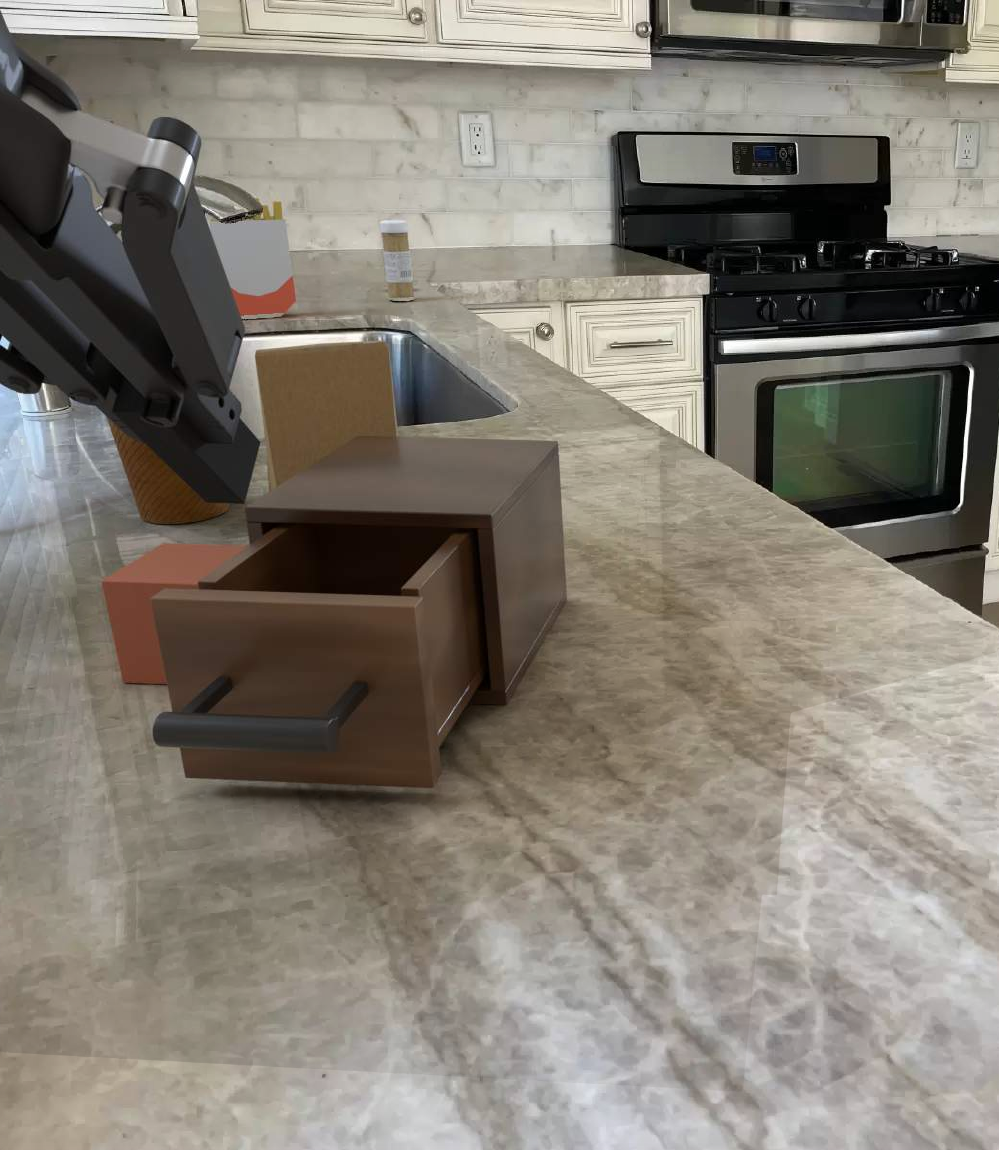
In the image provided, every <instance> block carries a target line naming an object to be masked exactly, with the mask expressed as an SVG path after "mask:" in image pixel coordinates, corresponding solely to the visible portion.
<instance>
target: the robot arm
mask: <svg viewBox="0 0 999 1150" xmlns="http://www.w3.org/2000/svg"><path fill="white" fill-rule="evenodd" d="M201 149H202V138H201V136H200V134H199V133H198V131H197V130H196V129H194V128H193V127H192V126H191V125H189V124H188V123H186V122H184V121H183V120H181V119H178V118H175V117H171V116H159V117H156V118H154V119H153V120H152V121H151V123H150V125H149V128H148V132H147V134H146V135H144V134H143V133H142V134H141V133H139V132H136V131H134V130H132V129H129V128H126V127H123V126H121V125H118V124H115V123H113V122H110V121H108V120H105V119H103V118H100V117H98V116H96V115H93V114H90V113H87V112H85V111H83V109H82V105H81V103H80V101H79V98H78V96H77V95H76V94H75V92H74V90H73V89H72V88H71V86H70V85H69V84H68V83H67V82H66V81H65V80H64V79H63V78H62V77H60V76H59V75H58V74H57V73H55V72H54V71H53V70H51V69H50V68H48V66H46V65H44V64H42V63H41V62H40V61H39V60H37V59H36V58H35V57H34V56H32V55H31V54H30V53H29V52H28V51H27V50H26V49H24V48H23V47H22V46H21V45H20V44H19V43H18V42H17V41H16V39H15V38H14V37H13V35H12V33H11V31H10V30H9V28H8V25H7V23H6V20H5V18H4V15H3V12H2V10H1V9H0V342H1V340H2V338H4V339H5V340H7V342H8V343H9V344H8V346H7V348H6V347H5V346H4V345H2V344H0V385H1V386H3V387H5V388H7V389H9V390H11V391H13V392H15V393H17V394H23V395H35V394H39V392H40V391H41V388H42V385H43V384H45V385H50V386H55V387H57V388H58V389H59V390H60V392H62V393H63V394H64V395H65V396H67V397H68V398H69V399H71V400H72V401H73V402H77V403H79V404H83V405H85V406H92V407H96V408H97V409H98V410H99V411H100V412H101V413H102V414H103V415H104V416H105V417H106V416H107V417H108V418H109V419H110V420H111V421H112V422H113V423H114V424H115V425H116V426H118V428H119V429H120V430H121V431H122V432H123V433H125V434H126V435H127V436H129V437H130V438H132V439H134V440H136V441H138V442H139V443H145V444H146V445H147V446H148V447H149V448H150V449H151V450H152V451H153V452H154V453H155V454H156V455H158V456H159V457H160V458H161V459H162V460H163V461H164V462H165V463H166V464H167V465H168V466H169V467H170V468H171V469H172V470H173V471H174V472H175V473H176V474H177V475H178V476H179V477H180V478H181V479H182V480H183V481H184V482H186V483H187V484H188V485H189V486H190V487H191V488H192V489H193V490H194V491H195V492H196V493H197V494H198V495H199V496H200V497H201V498H202V499H203V500H204V501H205V502H206V503H229V504H237V505H239V504H240V505H245V504H246V501H247V496H248V493H249V488H250V485H251V480H252V476H253V474H254V469H255V465H256V461H257V457H258V454H259V451H260V446H261V441H260V440H259V439H258V437H257V436H256V435H255V433H254V432H253V431H252V430H251V429H250V428H249V427H248V426H247V424H246V423H245V422H244V421H243V420H242V418H241V415H242V412H243V411H242V410H243V409H242V402H241V401H240V400H239V398H237V396H236V394H234V393H233V392H232V390H231V389H230V387H231V384H232V383H231V382H232V379H233V376H234V372H235V368H236V365H237V362H238V358H239V354H240V351H241V347H242V343H243V341H244V337H245V333H246V326H245V323H244V322H243V321H244V320H242V318H241V315H240V313H239V310H238V307H237V304H236V301H235V299H234V296H233V293H232V290H231V287H230V285H229V282H228V279H227V276H226V273H225V270H224V268H223V265H222V262H221V259H220V256H219V254H218V251H217V248H216V245H215V242H214V240H213V237H212V234H211V231H210V228H209V225H208V223H207V221H208V220H207V216H206V215H205V211H204V208H203V206H202V204H201V201H200V198H199V194H198V191H197V189H196V187H195V183H194V179H195V175H196V170H197V166H198V162H199V158H200V152H201ZM83 173H85V174H86V175H87V177H89V178H90V180H91V181H92V182H93V185H94V188H95V190H96V192H97V195H99V196H100V197H101V198H102V199H103V203H102V205H101V209H100V212H98V211H97V209H96V207H95V205H94V200H93V199H94V198H93V189H92V187H91V183H90V182H89V180H88V179H87V177H86V175H84V174H83ZM106 221H108V222H110V223H112V224H115V225H120V237H119V236H118V235H117V234H116V233H115V231H114V230H113V229H112V227H110V225H109V224H108V223H107V222H106ZM120 238H121V239H120Z"/></svg>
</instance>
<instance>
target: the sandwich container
mask: <svg viewBox="0 0 999 1150" xmlns="http://www.w3.org/2000/svg"><path fill="white" fill-rule="evenodd" d="M254 360H255V368H256V369H255V370H256V377H257V384H258V392H259V401H260V409H261V417H262V425H263V432H264V433H263V435H264V444H265V453H266V466H267V478H268V490H269V491H271V490H273V489H274V488H276V487H277V486H279V485H280V484H282V483H284V482H285V481H287V480H288V479H290V478H292V477H293V476H295V475H296V474H298V473H299V472H301V471H303V470H304V469H306V468H307V467H309V466H310V465H312V464H314V463H315V462H317V461H318V460H320V459H321V458H323V457H325V456H326V455H328V454H329V453H331V452H332V451H334V450H336V449H337V448H339V447H340V446H342V445H344V444H345V443H347V442H348V441H350V440H351V439H353V438H355V437H356V436H391V437H399V431H398V422H397V421H398V420H397V412H396V411H397V410H396V403H395V392H394V384H393V383H394V382H393V373H392V372H393V371H392V365H391V355H390V345H389V344H388V342H387V341H386V340H365V341H364V340H363V341H345V342H344V341H343V342H323V343H322V342H321V343H311V344H302V345H292V346H282V347H273V348H262V349H256V350H255V353H254ZM269 491H268V492H269Z"/></svg>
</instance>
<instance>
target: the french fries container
mask: <svg viewBox="0 0 999 1150" xmlns="http://www.w3.org/2000/svg"><path fill="white" fill-rule="evenodd" d="M253 198H254V199H255V200H257V201H258V202H259V203H260V198H258V197H253ZM262 206H263V211H262V215H261V213H260V215H258V216H256V217H254V218H252V217H251V218H250V219H246V220H242V221H239V222H236V223H231V224H225V223H221V222H219V221H220V220H219V221H217V220H214V219H211V218H210V217H209V218H210V221H209V220H207V223H208V225H209V228H210V231H211V234H212V237H213V240H214V242H215V245H216V248H217V251H218V254H219V256H220V259H221V262H222V265H223V268H224V270H225V273H226V276H227V279H228V282H229V285H230V287H231V290H232V293H233V296H234V299H235V301H236V304H237V307H238V310H239V313H240V315H241V316H244V315H258V314H273V313H284V314H286V312H287V311H288V310H289V309H290V308H291V307H292V306H293V305H294V304H295V303H296V302H297V298H296V291H295V290H296V289H295V282H294V275H293V268H292V260H291V252H290V245H289V238H288V229H287V223H286V219H285V218H283V207H282V201H272V209H273V215H271V213H270V209H269V206H268V205H266V204H265V205H262ZM262 217H263V218H262Z"/></svg>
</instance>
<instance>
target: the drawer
mask: <svg viewBox="0 0 999 1150" xmlns="http://www.w3.org/2000/svg"><path fill="white" fill-rule="evenodd" d="M246 546H247V547H246V548H245V549H243V550H242V551H240V552H239V553H238V554H236V555H235V556H233V557H232V558H230V559H229V560H228V561H226V562H225V563H223V564H222V565H220V566H219V567H218V568H216V569H215V570H213V571H212V572H211V573H209V574H208V575H206V576H205V577H203V578H202V579H201V580H199V581H198V588H199V589H169V588H165V589H163V590H162V591H160V592H159V593H157V594H156V595H154V596H153V597H152V598H150V601H151V606H152V611H153V616H154V621H155V626H156V631H157V636H158V642H159V647H160V652H161V657H162V662H163V667H164V672H165V677H166V682H167V684H166V686H167V691H168V697H169V702H170V706H171V711H163V712H160V713H159V714H157V716H156V717H155V719H154V722H153V725H152V734H151V735H152V739H153V742H154V744H155V745H156V746H158V747H160V748H175V749H176V748H177V749H179V753H180V759H181V763H182V766H183V772H184V777H185V779H196V780H197V779H200V780H221V781H222V780H223V781H228V780H229V781H247V782H249V781H250V782H272V783H273V782H274V783H293V784H294V783H296V784H319V785H320V784H321V785H324V784H325V785H345V786H347V785H348V786H369V787H392V788H393V787H396V788H416V789H417V788H419V789H421V788H422V789H434V788H435V787H436V785H437V783H438V781H439V780H440V778H441V777H442V775H443V774H442V764H441V753H440V747H441V745H442V744H443V742H444V741H445V739H446V737H448V735H449V733H450V732H451V730H452V729H453V727H454V725H455V723H456V722H457V720H458V719H459V717H460V716H461V715H462V713H463V711H464V709H465V708H466V707H467V705H468V704H469V703H468V702H469V700H470V699H471V697H472V696H473V694H474V692H475V691H476V689H477V688H478V686H479V685H480V683H481V682H482V680H483V679H484V677H485V675H486V674H487V672H488V671H489V661H488V649H487V637H486V625H485V613H484V601H483V589H482V578H481V566H480V554H479V542H478V529H470V528H436V527H403V526H370V525H336V524H303V523H280V524H279V525H277V526H276V527H274V528H273V529H272V530H270V531H269V532H267V533H266V534H264V535H263V536H262V537H260V538H259V539H257V540H256V541H255V542H253V543H252V544H250V543H249V545H246Z"/></svg>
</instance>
